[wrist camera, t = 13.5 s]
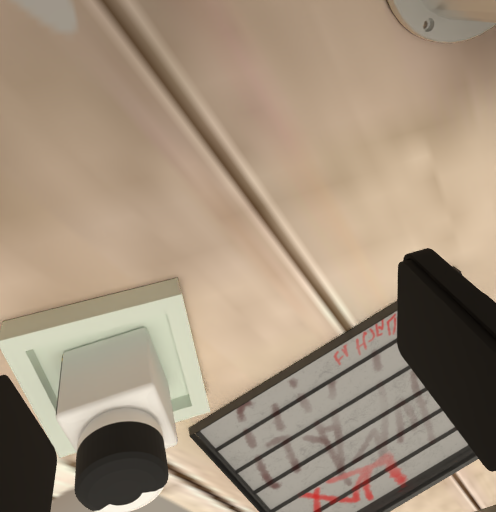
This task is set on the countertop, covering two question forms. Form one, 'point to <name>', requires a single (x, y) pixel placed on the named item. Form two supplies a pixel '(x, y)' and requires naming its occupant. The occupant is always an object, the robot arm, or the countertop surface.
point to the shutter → (337, 430)
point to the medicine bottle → (117, 421)
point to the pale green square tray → (96, 329)
